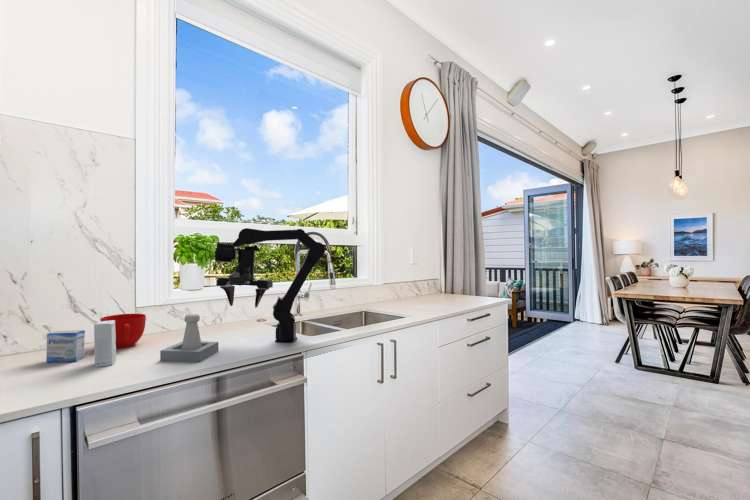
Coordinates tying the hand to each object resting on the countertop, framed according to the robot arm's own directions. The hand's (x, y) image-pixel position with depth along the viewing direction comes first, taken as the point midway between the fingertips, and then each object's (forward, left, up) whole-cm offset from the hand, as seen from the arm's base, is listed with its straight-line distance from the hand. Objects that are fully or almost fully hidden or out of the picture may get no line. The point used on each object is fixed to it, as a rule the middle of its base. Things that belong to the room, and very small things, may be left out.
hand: (243, 306), depth 134 cm
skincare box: (+30, +27, -13) cm, 42 cm away
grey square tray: (+10, +17, -13) cm, 24 cm away
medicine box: (+44, +25, -13) cm, 52 cm away
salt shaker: (+9, +17, -13) cm, 24 cm away
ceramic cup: (+38, +9, -13) cm, 41 cm away
